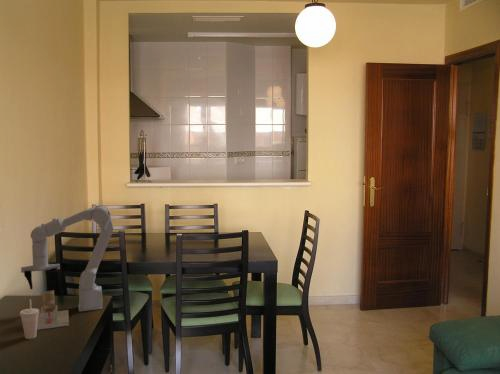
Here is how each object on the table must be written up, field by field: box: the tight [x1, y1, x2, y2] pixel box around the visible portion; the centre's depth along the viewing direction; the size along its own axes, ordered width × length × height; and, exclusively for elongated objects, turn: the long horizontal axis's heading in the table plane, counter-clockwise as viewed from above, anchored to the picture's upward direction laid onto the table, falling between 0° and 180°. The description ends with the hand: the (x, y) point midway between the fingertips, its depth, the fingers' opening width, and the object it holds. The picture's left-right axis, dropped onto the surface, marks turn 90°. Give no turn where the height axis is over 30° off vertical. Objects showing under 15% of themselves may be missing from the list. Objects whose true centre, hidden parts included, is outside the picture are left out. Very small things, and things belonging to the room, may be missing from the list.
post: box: [42, 289, 56, 311], centre depth 181 cm, size 4×4×8 cm
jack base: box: [37, 304, 70, 331], centre depth 181 cm, size 14×14×6 cm
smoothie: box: [19, 298, 40, 340], centre depth 167 cm, size 6×6×14 cm
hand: (41, 287), depth 191 cm, fingers open, 7 cm apart
